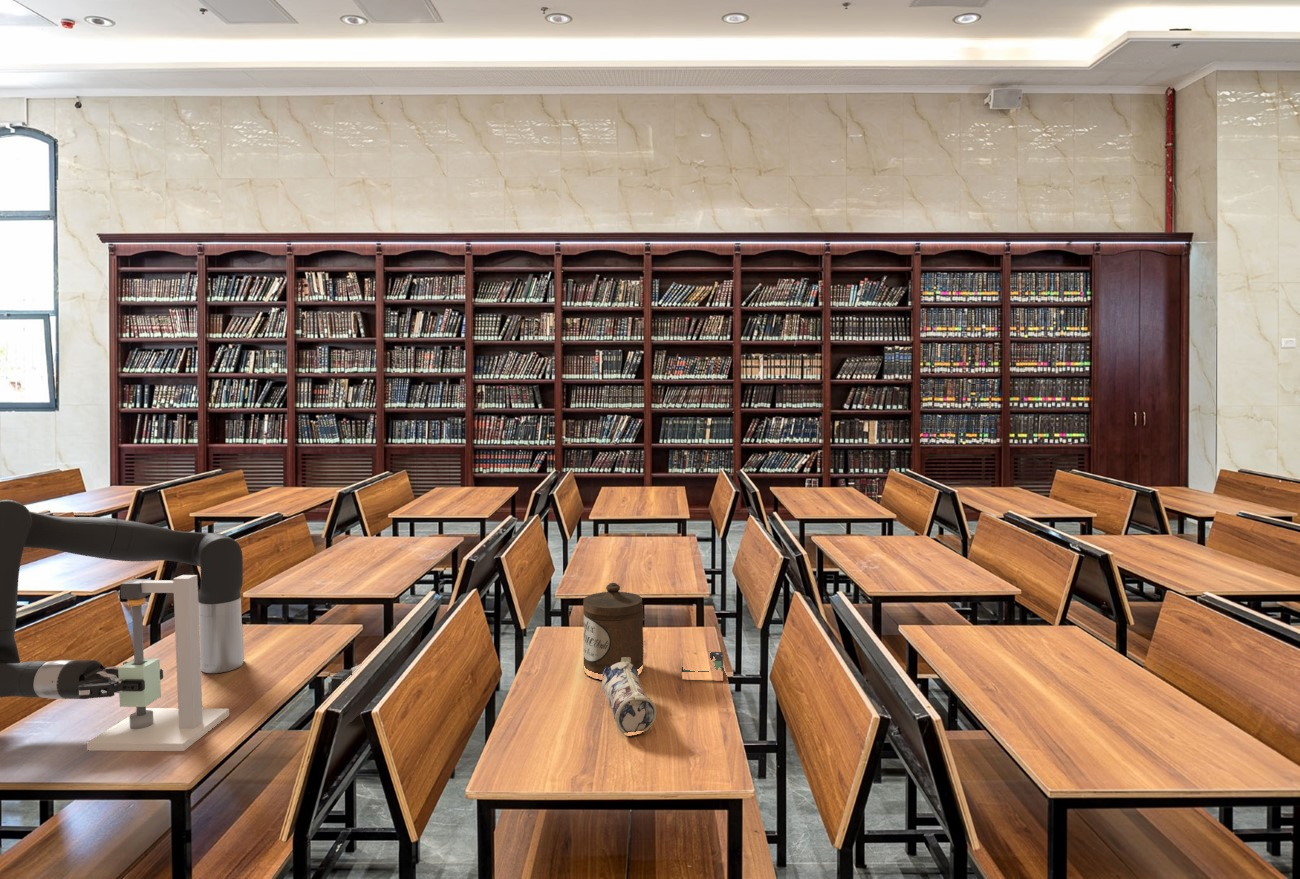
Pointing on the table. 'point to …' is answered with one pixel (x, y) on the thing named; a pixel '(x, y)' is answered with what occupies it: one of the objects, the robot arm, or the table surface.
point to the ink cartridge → (340, 678)
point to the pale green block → (149, 675)
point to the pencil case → (627, 697)
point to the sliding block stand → (189, 719)
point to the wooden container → (612, 629)
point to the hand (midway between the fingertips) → (152, 679)
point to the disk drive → (717, 662)
